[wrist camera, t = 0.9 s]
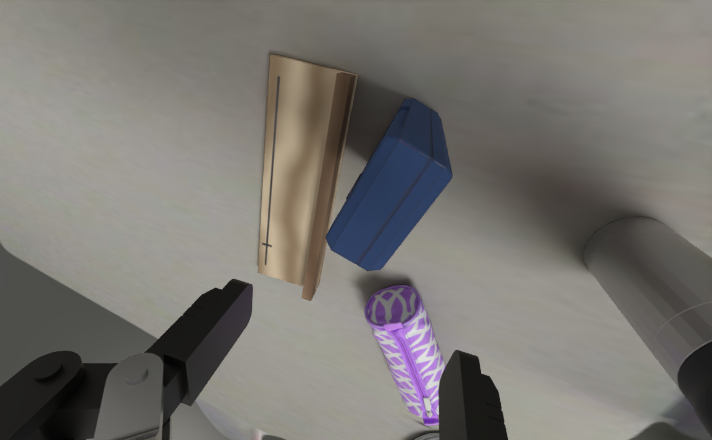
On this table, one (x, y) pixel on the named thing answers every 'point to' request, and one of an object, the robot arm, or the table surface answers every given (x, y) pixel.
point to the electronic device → (393, 188)
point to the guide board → (302, 167)
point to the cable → (429, 437)
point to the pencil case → (408, 347)
